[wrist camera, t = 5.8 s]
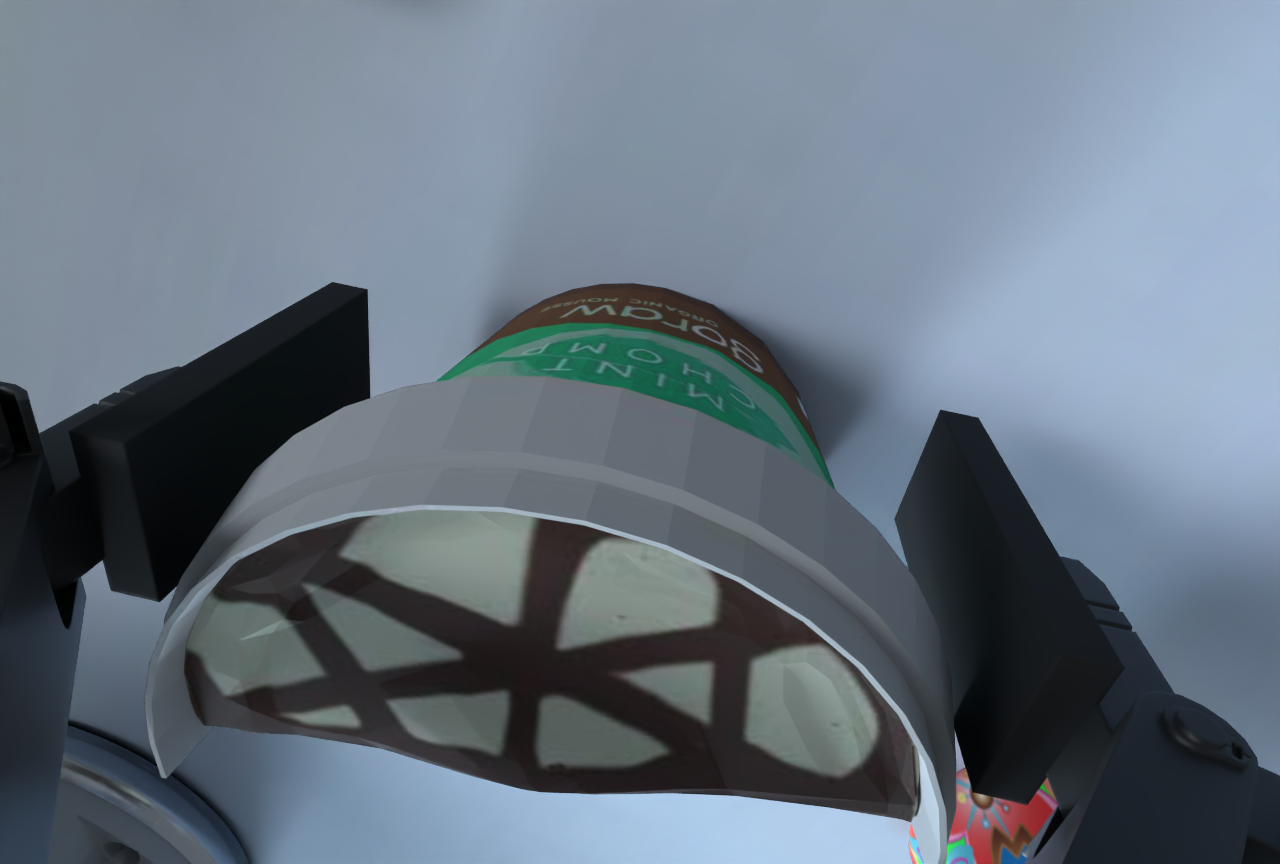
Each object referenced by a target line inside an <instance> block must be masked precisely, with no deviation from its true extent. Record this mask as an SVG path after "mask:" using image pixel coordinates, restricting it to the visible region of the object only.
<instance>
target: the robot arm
mask: <svg viewBox="0 0 1280 864" xmlns="http://www.w3.org/2000/svg"><path fill="white" fill-rule="evenodd" d="M367 399H370V366H369V327H368V289H363V288H358V287H353V286H349V285H344V284H339V283H334V282H332V283H330V284H328V285H326V286H325V287H323V288H321V289H319V290H318V291H316V292H314V293H312V294H311V295H309V296H307V297H305V298H303V299H302V300H300V301H298V302H296V303H295V304H293V305H291V306H289V307H288V308H286V309H284V310H282V311H280V312H279V313H277V314H275V315H273V316H272V317H270V318H268V319H266V320H264V321H263V322H261V323H259V324H257V325H256V326H254V327H252V328H250V329H249V330H247V331H245V332H243V333H241V334H240V335H238V336H236V337H234V338H233V339H231V340H229V341H227V342H226V343H224V344H222V345H220V346H218V347H217V348H215V349H213V350H211V351H210V352H208V353H206V354H204V355H202V356H201V357H199V358H197V359H195V360H194V361H192V362H190V363H188V364H187V365H185V366H183V367H179V366H178V367H174V368H171V369H167V370H164V371H160V372H157V373H153V374H150V375H146V376H144V377H142V378H140V379H138V380H137V381H135V382H133V383H131V384H129V385H127V386H126V387H124V388H122V389H120V392H119V393H116V392H115V393H113V394H111V395H109V396H107V397H105V398H104V399H102V400H100V401H99V404H93V405H91V406H89V407H87V408H85V409H83V410H82V411H80V412H78V413H76V414H74V415H72V416H71V417H69V418H67V419H65V420H63V421H61V422H60V423H58V424H56V425H54V426H52V427H50V428H48V429H47V430H45V431H43V432H41V433H39V431H38V428H37V424H36V421H35V417H34V414H33V411H32V407H31V404H30V400H29V397H28V393H27V391H26V390H24V389H23V388H21V387H19V386H17V385H16V384H11V383H5V382H0V864H249V862H248V860H247V858H246V855H245V853H244V851H243V849H242V848H241V846H240V844H239V842H238V841H237V839H236V838H235V836H234V835H233V833H232V832H231V831H230V829H229V828H228V827H227V826H226V824H225V823H224V822H223V821H222V820H221V819H220V817H219V816H218V815H217V814H216V813H215V812H214V811H213V810H212V809H211V808H210V807H209V806H208V805H207V804H206V803H205V802H203V801H202V800H201V799H200V798H199V797H198V796H197V795H196V794H194V793H193V792H192V791H191V790H190V789H188V788H187V787H186V786H184V785H183V784H182V783H180V782H179V781H178V780H176V779H175V778H173V777H172V776H171V775H169V776H168V777H167V778H161V775H160V772H159V769H158V767H157V766H155V765H154V764H152V763H150V762H149V761H147V760H145V759H143V758H142V757H140V756H138V755H136V754H134V753H132V752H131V751H129V750H127V749H125V748H123V747H121V746H119V745H117V744H114V743H112V742H110V741H108V740H105V739H103V738H101V737H99V736H96V735H94V734H91V733H88V732H86V731H83V730H80V729H77V728H75V727H72V726H69V725H68V719H69V712H70V705H71V698H72V691H73V684H74V677H75V670H76V664H77V657H78V650H79V643H80V636H81V629H82V622H83V615H84V608H85V601H86V594H85V590H84V586H83V582H82V579H81V576H83V575H84V574H85V573H86V572H88V571H89V570H90V569H91V568H93V567H94V566H95V565H96V564H98V563H99V562H100V561H102V560H103V563H104V567H105V570H106V574H107V578H108V582H109V585H110V589H111V591H115V592H119V593H123V594H127V595H132V596H136V597H140V598H145V599H149V600H153V601H157V602H160V601H162V600H163V599H164V598H165V597H166V596H167V595H168V594H169V593H170V592H171V591H172V590H173V589H174V588H175V587H176V586H178V584H179V581H180V579H181V577H182V575H183V574H184V572H185V571H186V569H187V568H188V566H189V565H190V563H191V562H192V560H193V559H194V557H195V556H196V554H197V553H198V551H199V550H200V548H201V547H202V545H203V544H204V542H205V541H206V539H207V538H208V536H209V535H210V533H211V532H212V530H213V529H214V527H215V526H216V524H217V523H218V521H219V520H220V518H221V517H222V515H223V514H224V512H225V511H226V509H227V508H228V506H229V505H230V503H231V502H232V501H233V499H234V498H235V496H236V495H237V494H238V492H239V491H240V490H241V488H242V487H243V485H244V484H245V483H246V481H247V480H248V478H249V477H250V476H251V474H252V473H253V472H254V470H255V469H256V468H257V467H258V466H260V465H261V464H262V463H263V462H264V461H265V460H266V459H267V458H269V457H270V456H271V455H272V454H273V453H274V452H275V451H277V450H278V449H279V448H280V447H281V446H282V445H283V444H285V443H286V442H287V441H288V440H289V439H290V438H291V437H293V436H294V435H295V434H297V433H299V432H301V431H302V430H304V429H306V428H308V427H310V426H311V425H313V424H315V423H317V422H318V421H320V420H322V419H324V418H326V417H327V416H329V415H331V414H333V413H334V412H336V411H338V410H340V409H342V408H343V407H346V406H349V405H352V404H355V403H358V402H361V401H364V400H367ZM895 523H896V526H897V530H898V533H899V537H900V540H901V544H902V547H903V551H904V554H905V558H906V561H907V565H908V568H909V571H910V572H911V574H912V575H913V576H914V578H915V580H916V582H917V584H918V586H919V588H920V590H921V592H922V594H923V596H924V598H925V600H926V602H927V604H928V606H929V608H930V610H931V612H932V614H933V616H934V618H935V620H936V622H937V624H938V626H939V629H940V633H941V637H942V641H943V644H944V648H945V652H946V656H947V660H948V664H949V668H950V672H951V676H952V693H953V712H954V729H955V732H956V736H957V739H958V743H959V746H960V750H961V753H962V757H963V760H964V764H965V767H966V771H967V774H968V778H969V781H970V785H971V788H972V792H973V793H977V794H982V795H986V796H990V797H994V798H999V799H1003V800H1007V801H1011V802H1016V803H1020V804H1024V805H1028V804H1029V802H1030V801H1031V799H1032V798H1033V797H1034V795H1035V794H1036V792H1037V791H1038V790H1039V788H1040V787H1041V785H1042V784H1043V783H1044V781H1045V780H1046V778H1048V781H1049V783H1050V786H1051V789H1052V791H1053V794H1054V796H1055V799H1056V801H1057V804H1058V805H1057V807H1056V808H1055V809H1054V811H1053V812H1052V813H1051V815H1050V816H1049V818H1048V819H1047V820H1046V822H1045V823H1044V824H1043V826H1042V827H1041V828H1040V830H1039V831H1038V832H1037V834H1036V835H1035V836H1034V838H1033V839H1032V840H1031V842H1030V843H1029V844H1028V846H1027V847H1026V848H1025V850H1024V851H1023V852H1022V855H1023V856H1025V857H1026V858H1027V859H1026V861H1025V863H1024V864H1280V776H1279V775H1277V774H1275V773H1272V772H1270V771H1268V770H1266V769H1264V768H1261V767H1259V766H1258V762H1257V757H1256V756H1255V754H1254V753H1253V751H1252V749H1251V748H1250V746H1249V745H1248V743H1247V742H1246V740H1245V739H1244V738H1243V737H1242V736H1241V735H1240V734H1239V733H1238V732H1237V731H1236V730H1235V729H1234V728H1233V727H1232V726H1230V725H1229V724H1228V723H1227V722H1226V721H1225V720H1223V719H1222V718H1220V717H1219V716H1218V715H1216V714H1215V713H1213V712H1212V711H1210V710H1209V709H1207V708H1206V707H1205V706H1202V705H1200V704H1198V703H1196V702H1194V701H1192V700H1190V699H1188V698H1186V697H1184V696H1181V695H1178V694H1175V693H1174V692H1173V690H1172V688H1171V687H1170V685H1169V684H1168V682H1167V681H1166V679H1165V678H1164V676H1163V674H1162V673H1161V671H1160V670H1159V668H1158V667H1157V665H1156V663H1155V662H1154V660H1153V659H1152V657H1151V656H1150V654H1149V653H1148V651H1147V649H1146V648H1145V646H1144V645H1143V643H1142V642H1141V640H1140V638H1139V637H1138V635H1137V634H1136V632H1132V626H1131V624H1130V623H1129V621H1128V620H1127V618H1126V617H1125V615H1124V613H1123V612H1119V608H1120V607H1119V606H1118V604H1117V602H1116V601H1115V599H1114V598H1113V596H1112V595H1111V593H1110V592H1109V590H1108V588H1107V587H1106V585H1105V584H1104V583H1103V582H1102V581H1101V580H1100V579H1099V578H1098V577H1096V576H1095V575H1094V574H1093V573H1092V572H1091V571H1090V570H1089V569H1088V568H1087V567H1085V566H1084V565H1083V564H1082V563H1081V562H1080V561H1078V560H1074V559H1069V558H1065V557H1060V556H1059V555H1058V553H1057V551H1056V550H1055V548H1054V546H1053V544H1052V543H1051V541H1050V539H1049V538H1048V536H1047V534H1046V533H1045V531H1044V529H1043V527H1042V526H1041V524H1040V522H1039V521H1038V519H1037V517H1036V515H1035V514H1034V512H1033V510H1032V509H1031V507H1030V505H1029V504H1028V502H1027V500H1026V498H1025V497H1024V495H1023V493H1022V492H1021V490H1020V488H1019V486H1018V485H1017V483H1016V481H1015V480H1014V478H1013V476H1012V475H1011V473H1010V471H1009V469H1008V468H1007V466H1006V464H1005V463H1004V461H1003V459H1002V457H1001V456H1000V454H999V452H998V451H997V449H996V447H995V446H994V444H993V442H992V440H991V439H990V437H989V435H988V434H987V432H986V430H985V428H984V427H983V425H982V423H981V422H980V420H979V418H977V417H972V416H967V415H963V414H958V413H953V412H948V411H944V410H940V412H939V414H938V417H937V419H936V421H935V424H934V426H933V428H932V431H931V433H930V436H929V438H928V440H927V443H926V445H925V447H924V450H923V452H922V455H921V457H920V459H919V462H918V464H917V466H916V469H915V471H914V474H913V476H912V478H911V481H910V483H909V485H908V488H907V490H906V493H905V495H904V497H903V500H902V502H901V504H900V507H899V509H898V512H897V514H896V516H895Z"/></svg>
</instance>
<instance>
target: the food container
mask: <svg viewBox="0 0 1280 864" xmlns="http://www.w3.org/2000/svg"><path fill="white" fill-rule="evenodd" d="M144 704H145V712H146V720H147V728H148V735H149V742H150V745H151V748H152V751H153V754H154V757H155V760H156V763H157V766H158V769H159V772H160V775H161V778H167V777H168V776H169V775H170V774H171V773H172V772H173V771H174V770H175V769H176V767H177V766H178V765H179V764H180V763H181V762H182V761H183V760H184V759H185V758H186V757H187V756H188V754H189V753H190V752H191V751H192V750H193V749H194V748H195V747H196V746H197V745H198V744H199V743H200V741H201V740H202V739H203V738H204V737H205V736H206V735H207V734H208V733H209V732H210V731H211V729H212V728H213V727H214V726H215V727H226V728H232V729H237V730H241V731H245V732H249V733H253V734H264V733H270V734H294V735H303V736H309V737H315V738H321V739H327V740H333V741H339V742H345V743H351V744H357V745H363V746H369V747H375V748H381V749H385V750H388V751H391V752H395V753H398V754H401V755H404V756H408V757H411V758H414V759H417V760H421V761H424V762H427V763H431V764H434V765H437V766H440V767H444V768H447V769H450V770H454V771H457V772H460V773H463V774H467V775H470V776H473V777H477V778H481V779H485V780H488V781H492V782H496V783H500V784H504V785H508V786H512V787H516V788H520V789H524V790H531V791H537V792H551V793H580V794H650V793H682V794H706V795H730V796H742V797H750V798H758V799H766V800H774V801H782V802H790V803H798V804H806V805H814V806H822V807H830V808H836V809H842V810H848V811H854V812H860V813H867V814H873V815H879V816H885V817H891V818H897V819H903V820H906V821H909V822H911V825H912V828H913V831H914V834H915V837H916V840H917V843H918V846H919V849H920V852H921V856H922V859H923V862H924V864H945V863H946V858H947V846H948V842H949V837H950V833H951V829H952V825H953V821H954V817H955V813H956V809H957V808H956V752H955V732H954V712H953V693H952V676H951V672H950V668H949V664H948V660H947V656H946V652H945V648H944V644H943V641H942V637H941V633H940V629H939V626H938V624H937V622H936V620H935V618H934V616H933V614H932V612H931V610H930V608H929V606H928V604H927V602H926V600H925V598H924V596H923V594H922V592H921V590H920V588H919V586H918V584H917V582H916V580H915V578H914V576H913V575H912V574H911V572H910V571H909V570H908V569H907V567H906V566H905V565H904V563H903V562H902V561H901V559H900V558H899V557H898V556H897V554H896V553H895V552H894V550H893V549H892V548H891V546H890V545H889V544H888V542H887V541H886V540H885V539H884V537H883V536H882V535H881V533H880V532H879V531H878V529H877V528H876V527H875V526H874V525H872V524H871V523H870V522H869V521H868V520H867V519H866V518H865V517H864V516H863V515H862V514H861V513H859V512H858V511H857V510H856V509H855V508H854V507H853V506H852V505H851V504H850V503H849V502H847V501H846V500H845V499H844V498H843V497H842V496H841V495H840V494H839V493H838V492H837V491H836V490H835V487H834V485H833V482H832V480H831V477H830V474H829V472H828V469H827V467H826V464H825V461H824V459H823V456H822V454H821V451H820V448H819V446H818V443H817V441H816V438H815V436H814V433H813V430H812V428H811V425H810V423H809V420H808V417H807V415H806V412H805V410H804V407H803V404H802V402H801V399H800V397H799V394H798V391H797V390H796V388H795V387H794V385H793V384H792V383H791V381H790V380H789V378H788V377H787V375H786V374H785V373H784V371H783V370H782V368H781V367H780V365H779V364H778V363H777V361H776V360H775V358H774V357H773V355H772V354H771V353H770V351H769V350H768V348H767V347H766V345H765V344H764V343H763V341H761V340H760V339H758V338H757V337H756V336H754V335H753V334H752V333H750V332H749V331H748V330H746V329H745V328H743V327H742V326H741V325H739V324H738V323H737V322H735V321H734V320H733V319H731V318H730V317H728V316H727V315H726V314H724V313H723V312H722V311H720V310H719V309H718V308H716V307H715V306H713V305H712V304H709V303H706V302H703V301H700V300H698V299H695V298H692V297H689V296H686V295H683V294H681V293H678V292H675V291H672V290H669V289H666V288H661V287H654V286H648V285H641V284H634V283H630V284H599V285H594V286H588V287H583V288H577V289H572V290H569V291H567V292H564V293H561V294H558V295H556V296H553V297H550V298H547V299H545V300H543V301H541V302H539V303H538V304H536V305H534V306H532V307H531V308H529V309H527V310H525V311H524V312H522V313H520V314H519V315H518V316H516V317H515V318H514V319H513V320H511V321H510V322H509V323H508V324H506V325H505V326H504V327H503V328H502V329H500V330H499V331H498V332H497V333H495V334H494V335H493V336H492V337H490V338H489V339H488V340H487V341H485V342H484V343H483V344H482V345H480V346H479V347H478V348H477V349H476V350H474V351H473V352H472V353H471V354H469V355H468V356H467V357H466V358H464V359H463V360H462V361H461V362H459V363H458V364H457V365H456V366H454V367H453V368H452V369H451V370H450V371H448V372H447V373H446V374H445V375H443V376H442V377H441V378H440V379H438V380H437V381H436V382H432V383H426V384H419V385H413V386H406V387H402V388H399V389H396V390H393V391H390V392H387V393H384V394H381V395H378V396H376V397H373V398H370V399H367V400H364V401H361V402H358V403H355V404H352V405H349V406H346V407H343V408H342V409H340V410H338V411H336V412H334V413H333V414H331V415H329V416H327V417H326V418H324V419H322V420H320V421H318V422H317V423H315V424H313V425H311V426H310V427H308V428H306V429H304V430H302V431H301V432H299V433H297V434H295V435H294V436H293V437H291V438H290V439H289V440H288V441H287V442H286V443H285V444H283V445H282V446H281V447H280V448H279V449H278V450H277V451H275V452H274V453H273V454H272V455H271V456H270V457H269V458H267V459H266V460H265V461H264V462H263V463H262V464H261V465H260V466H258V467H257V468H256V469H255V470H254V472H253V473H252V474H251V476H250V477H249V478H248V480H247V481H246V483H245V484H244V485H243V487H242V488H241V490H240V491H239V492H238V494H237V495H236V496H235V498H234V499H233V501H232V502H231V503H230V505H229V506H228V508H227V509H226V511H225V512H224V514H223V515H222V517H221V518H220V520H219V521H218V523H217V524H216V526H215V527H214V529H213V530H212V532H211V533H210V535H209V536H208V538H207V539H206V541H205V542H204V544H203V545H202V547H201V548H200V550H199V551H198V553H197V554H196V556H195V557H194V559H193V560H192V562H191V563H190V565H189V566H188V568H187V569H186V571H185V572H184V574H183V575H182V577H181V579H180V581H179V584H178V586H177V589H176V591H175V594H174V596H173V599H172V601H171V603H170V606H169V608H168V611H167V613H166V616H165V619H164V627H163V630H162V633H161V635H160V637H159V640H158V642H157V645H156V647H155V650H154V652H153V655H152V657H151V660H150V662H149V668H148V677H147V685H146V693H145V702H144Z"/></svg>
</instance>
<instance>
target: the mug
mask: <svg viewBox="0 0 1280 864" xmlns="http://www.w3.org/2000/svg"><path fill="white" fill-rule="evenodd" d="M1057 805H1058V804H1057V801H1056V799H1055V796H1054V794H1053V791H1052V789H1051V786H1050V783H1049V781H1048V778H1046V780H1045V781H1044V783H1043V784H1042V785H1041V787H1040V788H1039V790H1038V791H1037V792H1036V794H1035V795H1034V797H1033V798H1032V799H1031V801H1030V802H1029V804H1028V805H1024V804H1020V803H1016V802H1011V801H1007V800H1003V799H999V798H994V797H990V796H986V795H982V794H977V793H973V792H972V788H971V785H970V781H969V778H968V774H967V771H966V768H964V769H962V770H960V771H958V772H956V808H957V809H956V813H955V817H954V821H953V825H952V829H951V833H950V837H949V842H948V846H947V858H946V863H945V864H1024V863H1025V861H1026V859H1027V858H1026V857H1025V856H1023V855H1022V852H1023V851H1024V850H1025V848H1026V847H1027V846H1028V844H1029V843H1030V842H1031V840H1032V839H1033V838H1034V836H1035V835H1036V834H1037V832H1038V831H1039V830H1040V828H1041V827H1042V826H1043V824H1044V823H1045V822H1046V820H1047V819H1048V818H1049V816H1050V815H1051V813H1052V812H1053V811H1054V809H1055V808H1056V807H1057ZM909 850H910V855H911V859H912V862H913V864H924V862H923V859H922V856H921V852H920V849H919V846H918V843H917V840H916V837H915V834H914V831H913V828H912V825H911V826H910V832H909Z"/></svg>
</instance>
